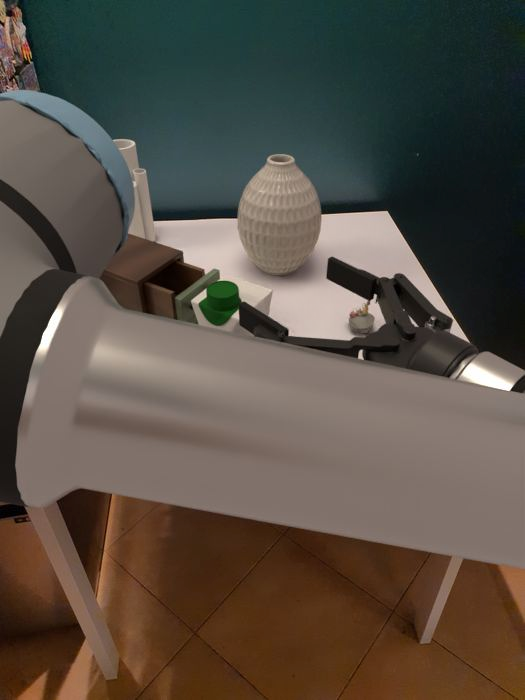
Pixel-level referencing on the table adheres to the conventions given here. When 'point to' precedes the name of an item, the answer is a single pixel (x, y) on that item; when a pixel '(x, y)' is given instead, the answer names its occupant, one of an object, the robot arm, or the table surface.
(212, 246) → the table surface
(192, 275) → the drawer
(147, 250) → the cabinet
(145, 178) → the vase
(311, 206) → the vase
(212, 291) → the soya milk
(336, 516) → the robot arm
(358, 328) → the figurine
